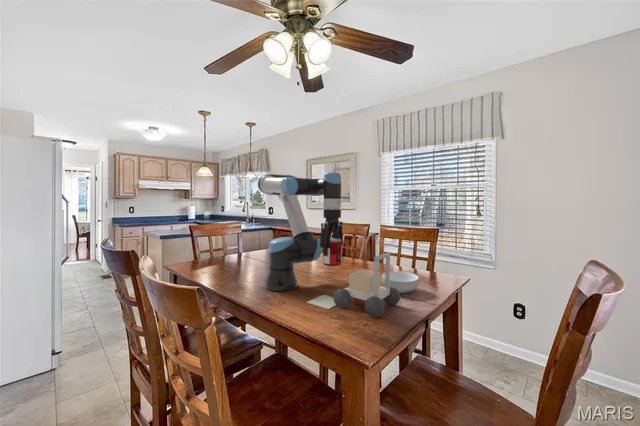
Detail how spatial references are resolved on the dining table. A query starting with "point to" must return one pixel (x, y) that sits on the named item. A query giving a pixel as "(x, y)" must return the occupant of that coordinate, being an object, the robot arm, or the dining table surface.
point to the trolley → (369, 289)
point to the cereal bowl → (402, 281)
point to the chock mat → (323, 302)
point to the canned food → (334, 252)
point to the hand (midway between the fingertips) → (332, 261)
